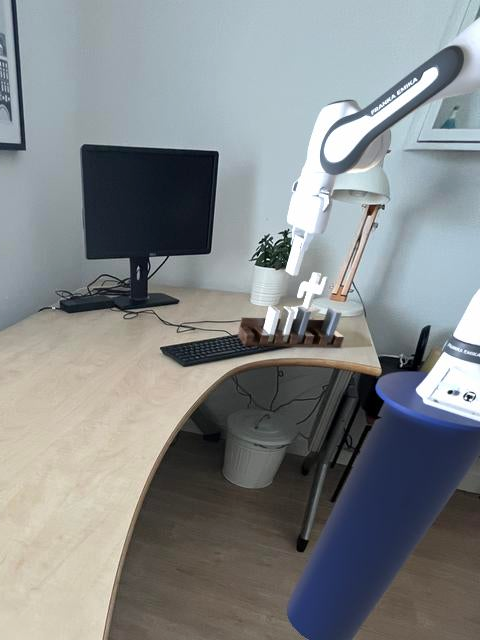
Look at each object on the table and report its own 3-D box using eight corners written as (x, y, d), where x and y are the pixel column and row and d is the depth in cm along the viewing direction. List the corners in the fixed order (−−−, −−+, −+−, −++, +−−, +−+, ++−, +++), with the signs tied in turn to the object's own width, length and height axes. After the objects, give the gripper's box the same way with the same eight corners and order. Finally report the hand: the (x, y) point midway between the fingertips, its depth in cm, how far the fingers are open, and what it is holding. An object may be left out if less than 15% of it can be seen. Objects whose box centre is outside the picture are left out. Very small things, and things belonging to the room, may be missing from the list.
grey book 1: (301, 342, 135) (311, 312, 129) (296, 342, 135) (305, 311, 129) (294, 336, 140) (303, 306, 134) (289, 336, 140) (298, 306, 134)
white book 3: (286, 342, 135) (295, 311, 129) (281, 342, 135) (290, 311, 129) (280, 336, 140) (289, 306, 134) (275, 335, 140) (284, 306, 134)
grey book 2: (330, 343, 135) (341, 312, 129) (325, 343, 135) (336, 312, 129) (323, 336, 140) (333, 307, 134) (318, 336, 140) (328, 307, 134)
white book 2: (297, 275, 123) (308, 238, 117) (292, 275, 123) (302, 238, 117) (290, 270, 128) (300, 235, 122) (285, 270, 128) (295, 235, 122)
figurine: (298, 314, 162) (312, 269, 152) (320, 320, 156) (335, 274, 146) (285, 316, 159) (298, 270, 149) (307, 323, 153) (322, 276, 143)
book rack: (340, 347, 134) (347, 328, 131) (244, 345, 134) (249, 326, 131) (328, 338, 141) (335, 319, 138) (237, 336, 141) (241, 317, 137)
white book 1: (272, 342, 135) (280, 311, 129) (267, 342, 135) (275, 311, 129) (266, 335, 140) (274, 305, 134) (261, 335, 140) (269, 305, 134)
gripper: (345, 190, 105) (324, 255, 114) (313, 183, 120) (297, 241, 129) (319, 189, 105) (300, 254, 114) (291, 183, 120) (276, 241, 129)
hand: (298, 247), depth 122 cm, fingers closed on white book 2, 6 cm apart
